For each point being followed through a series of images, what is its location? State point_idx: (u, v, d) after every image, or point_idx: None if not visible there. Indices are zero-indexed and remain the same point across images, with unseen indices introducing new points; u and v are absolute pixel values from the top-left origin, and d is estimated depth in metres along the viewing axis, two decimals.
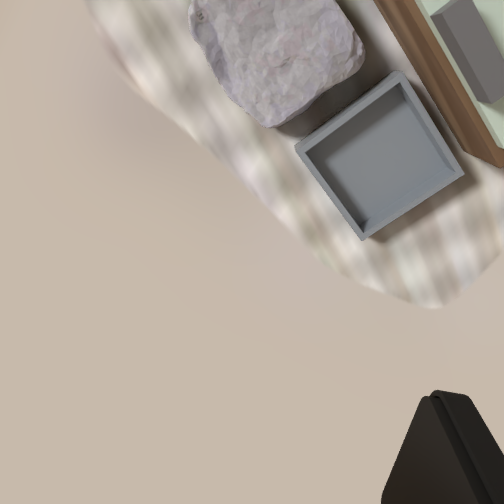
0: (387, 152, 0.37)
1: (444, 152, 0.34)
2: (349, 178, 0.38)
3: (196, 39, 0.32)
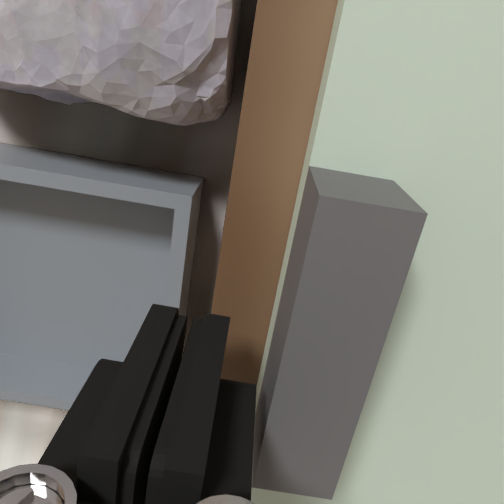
0: (93, 287, 0.18)
1: None
2: (1, 270, 0.17)
3: None
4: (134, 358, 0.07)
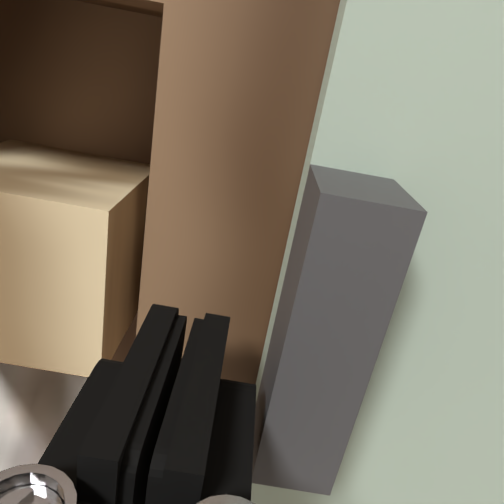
0: None
1: None
2: None
3: None
4: (134, 358, 0.07)
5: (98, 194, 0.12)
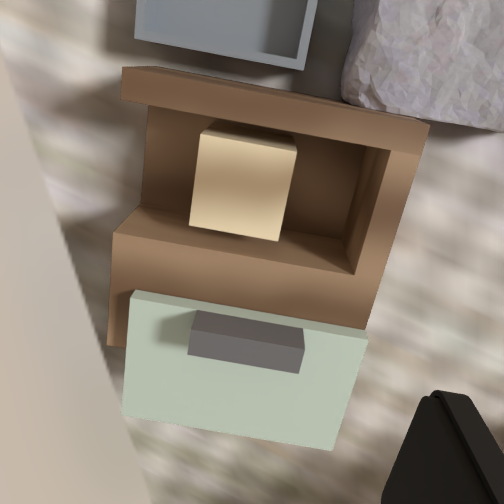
0: None
1: (178, 38, 0.24)
2: None
3: None
4: None
5: None
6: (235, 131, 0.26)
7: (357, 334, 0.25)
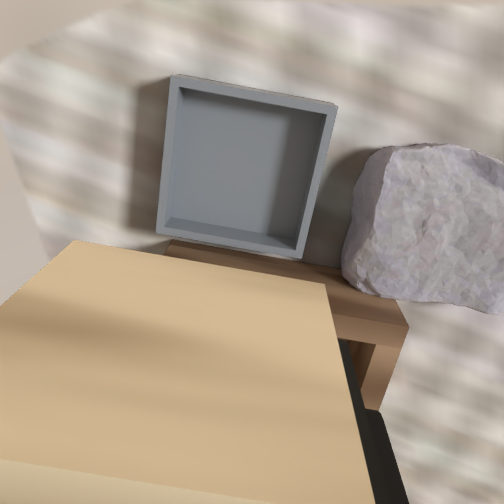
0: (236, 181, 0.29)
1: (194, 233, 0.28)
2: (246, 124, 0.27)
3: None
4: None
5: None
6: (119, 306, 0.07)
7: None
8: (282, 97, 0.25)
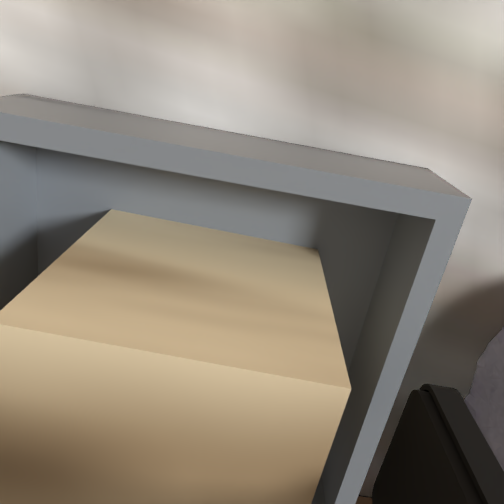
0: None
1: None
2: (204, 222, 0.11)
3: None
4: None
5: None
6: (155, 256, 0.09)
7: None
8: (301, 170, 0.08)
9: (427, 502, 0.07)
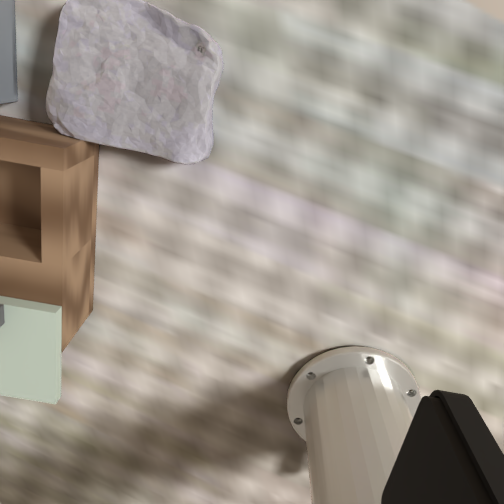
0: None
1: None
2: None
3: (191, 26, 0.29)
4: None
5: None
6: None
7: (50, 309, 0.33)
8: None
9: None
